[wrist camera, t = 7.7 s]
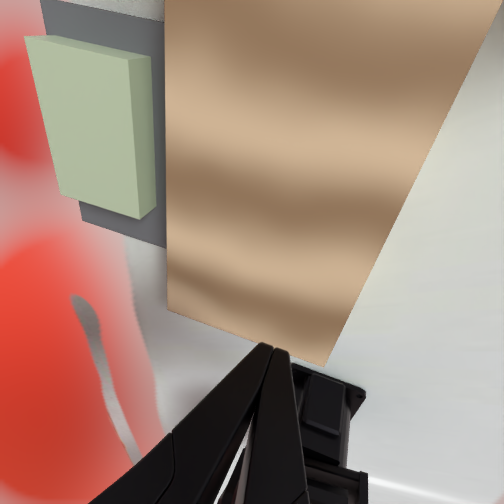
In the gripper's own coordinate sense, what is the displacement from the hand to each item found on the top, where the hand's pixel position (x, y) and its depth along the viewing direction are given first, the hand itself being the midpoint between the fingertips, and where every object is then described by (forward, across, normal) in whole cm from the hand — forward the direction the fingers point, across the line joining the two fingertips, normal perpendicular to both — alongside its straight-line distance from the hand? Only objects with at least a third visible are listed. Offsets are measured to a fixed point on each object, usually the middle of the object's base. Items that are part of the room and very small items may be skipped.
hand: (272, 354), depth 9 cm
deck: (+12, +2, 0) cm, 12 cm away
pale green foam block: (+10, +14, 0) cm, 17 cm away
